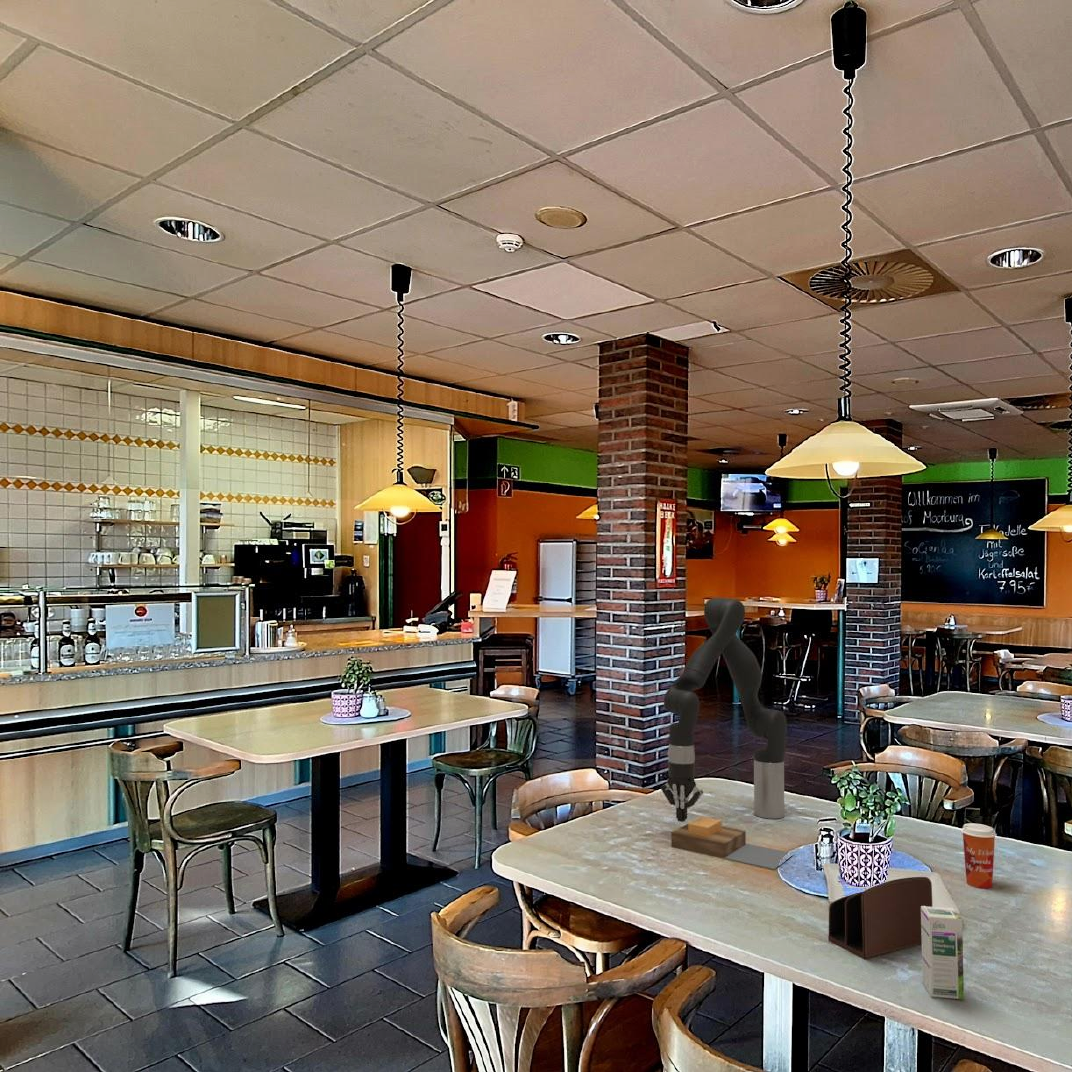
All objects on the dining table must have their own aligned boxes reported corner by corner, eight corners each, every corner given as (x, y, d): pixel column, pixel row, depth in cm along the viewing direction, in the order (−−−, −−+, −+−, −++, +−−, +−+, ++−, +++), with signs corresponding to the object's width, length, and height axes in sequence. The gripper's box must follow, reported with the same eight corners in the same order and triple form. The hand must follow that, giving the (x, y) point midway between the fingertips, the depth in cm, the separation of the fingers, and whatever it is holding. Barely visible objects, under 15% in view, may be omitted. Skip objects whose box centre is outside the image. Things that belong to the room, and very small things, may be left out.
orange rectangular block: (702, 825, 244) (702, 816, 244) (722, 829, 240) (721, 820, 240) (688, 832, 236) (688, 823, 236) (708, 836, 233) (708, 827, 233)
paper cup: (964, 887, 207) (963, 829, 208) (960, 877, 214) (959, 821, 215) (1000, 892, 204) (999, 833, 205) (994, 881, 212) (994, 824, 212)
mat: (746, 844, 239) (746, 843, 239) (794, 854, 230) (794, 853, 230) (724, 859, 227) (724, 857, 227) (774, 870, 218) (774, 868, 218)
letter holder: (934, 942, 177) (933, 873, 177) (865, 960, 168) (864, 888, 169) (895, 924, 186) (894, 859, 186) (827, 941, 177) (827, 872, 178)
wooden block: (693, 834, 248) (693, 820, 248) (745, 845, 238) (745, 830, 238) (671, 846, 237) (671, 832, 237) (724, 858, 227) (724, 843, 227)
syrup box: (930, 997, 153) (929, 916, 154) (921, 982, 159) (920, 903, 160) (964, 1000, 152) (963, 918, 153) (953, 985, 158) (952, 906, 159)
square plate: (937, 886, 209) (937, 870, 209) (961, 931, 183) (961, 913, 183) (822, 875, 216) (822, 859, 217) (829, 916, 190) (829, 899, 190)
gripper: (708, 760, 242) (708, 822, 242) (667, 754, 250) (667, 813, 250) (696, 765, 236) (696, 828, 236) (654, 759, 244) (654, 819, 244)
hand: (681, 820), depth 243 cm, fingers closed
